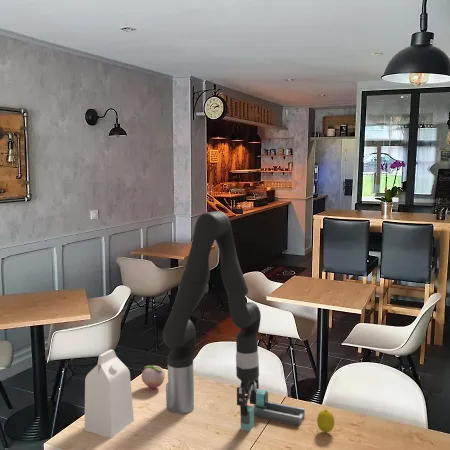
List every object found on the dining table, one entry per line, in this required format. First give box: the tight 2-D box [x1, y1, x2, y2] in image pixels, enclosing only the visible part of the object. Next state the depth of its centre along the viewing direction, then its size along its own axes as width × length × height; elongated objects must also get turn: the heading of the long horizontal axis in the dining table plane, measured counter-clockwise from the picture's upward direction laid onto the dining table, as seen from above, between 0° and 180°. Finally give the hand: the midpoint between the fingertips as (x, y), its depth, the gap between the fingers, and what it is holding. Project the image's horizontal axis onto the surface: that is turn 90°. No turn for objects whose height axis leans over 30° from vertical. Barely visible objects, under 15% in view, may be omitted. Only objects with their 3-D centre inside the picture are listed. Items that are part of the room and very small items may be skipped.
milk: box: [84, 349, 135, 439], centre depth 165 cm, size 12×12×26 cm
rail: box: [253, 388, 306, 427], centre depth 171 cm, size 18×7×8 cm, turn 66°
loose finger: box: [240, 404, 255, 432], centre depth 164 cm, size 4×4×7 cm
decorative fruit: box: [141, 365, 166, 389], centre depth 193 cm, size 9×8×10 cm
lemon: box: [316, 409, 335, 434], centre depth 160 cm, size 6×6×8 cm
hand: (248, 409), depth 163 cm, fingers open, 8 cm apart
